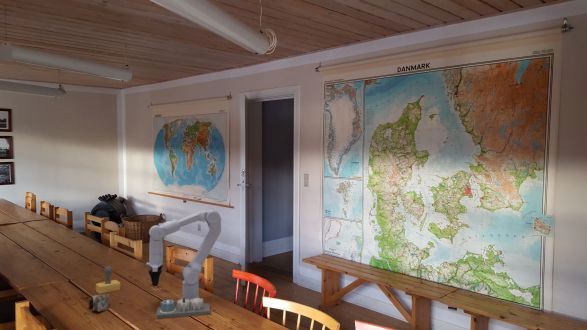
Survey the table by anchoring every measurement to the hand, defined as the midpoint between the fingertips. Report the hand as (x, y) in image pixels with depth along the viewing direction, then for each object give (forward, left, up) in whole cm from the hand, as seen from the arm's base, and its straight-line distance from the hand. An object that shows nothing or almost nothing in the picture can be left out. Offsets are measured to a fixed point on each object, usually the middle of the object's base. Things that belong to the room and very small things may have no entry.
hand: (155, 283), depth 190 cm
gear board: (+10, +12, -10) cm, 19 cm away
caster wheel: (-3, -24, -11) cm, 27 cm away
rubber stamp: (-26, -24, -11) cm, 37 cm away
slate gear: (+10, +6, -9) cm, 14 cm away
